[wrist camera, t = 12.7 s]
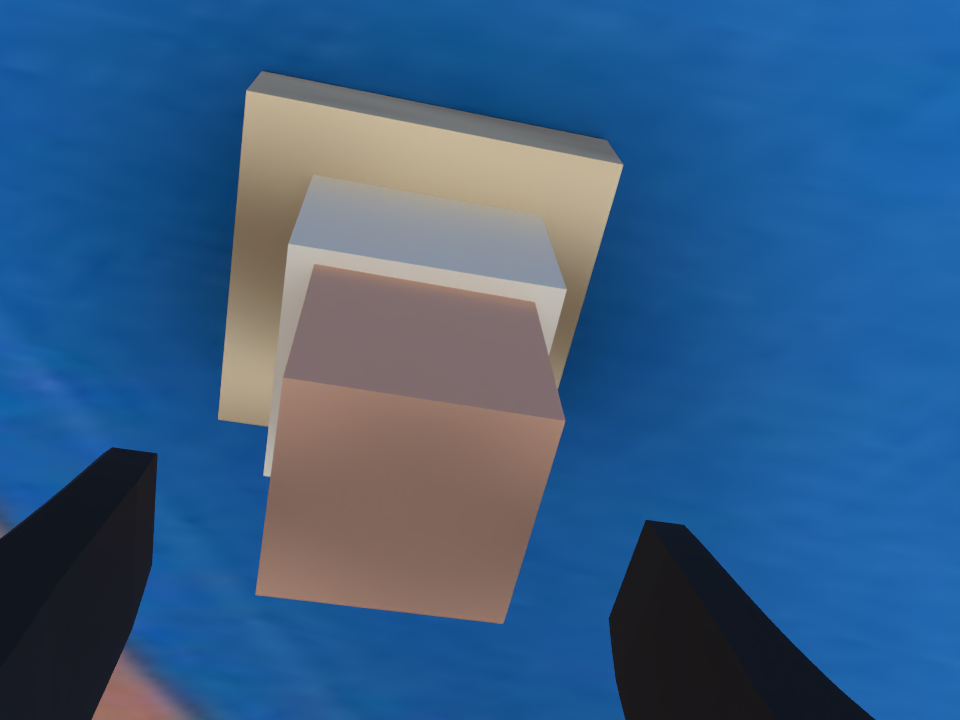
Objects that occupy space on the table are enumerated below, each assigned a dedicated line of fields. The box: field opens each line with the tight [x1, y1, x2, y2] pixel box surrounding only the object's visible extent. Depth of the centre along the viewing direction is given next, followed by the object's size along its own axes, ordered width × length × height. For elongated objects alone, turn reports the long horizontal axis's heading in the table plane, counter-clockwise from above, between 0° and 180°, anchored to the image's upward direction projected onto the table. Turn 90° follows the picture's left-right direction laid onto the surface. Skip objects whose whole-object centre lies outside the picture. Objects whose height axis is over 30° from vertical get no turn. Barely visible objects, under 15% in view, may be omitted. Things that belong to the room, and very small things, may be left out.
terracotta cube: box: [255, 264, 565, 624], centre depth 15 cm, size 4×4×4 cm
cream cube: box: [263, 174, 567, 477], centre depth 19 cm, size 5×5×4 cm
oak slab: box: [218, 71, 623, 427], centre depth 21 cm, size 8×8×2 cm
